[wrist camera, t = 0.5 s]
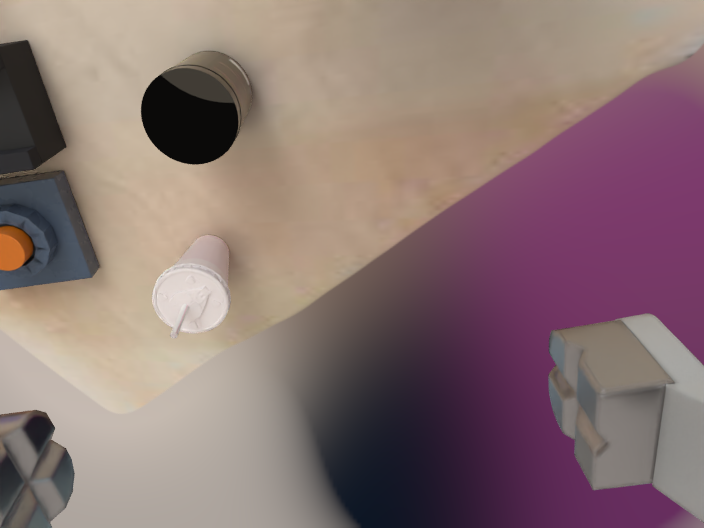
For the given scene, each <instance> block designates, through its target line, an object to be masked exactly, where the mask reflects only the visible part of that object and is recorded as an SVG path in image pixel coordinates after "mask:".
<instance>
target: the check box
mask: <svg viewBox="0 0 704 528" xmlns="http://www.w3.org/2000/svg"><path fill="white" fill-rule="evenodd" d="M2 226H13V227H16V228H19V229H21V230H22V231H24V232H25V233H26V234H27V235H28V236H29V237H30V238H31V240H32V243H33V248H34V249H33V254H32V256H31V257H30V258H29V259H28V260H27V261H26V262H25V263H24V264H23V265H22V266H21V267H20V268H18V269H16V270H12V271H5V270H0V290H5V289H13V288H20V287H27V286H34V285H42V284H49V283H56V282H63V281H70V280H78V279H85V278H92V277H93V275H94V274H95V273H96V271H97V270H98V269H99V264H98V261H97V259H96V256H95V253H94V251H93V248H92V245H91V243H90V240H89V237H88V235H87V232H86V229H85V227H84V224H83V221H82V219H81V216H80V213H79V211H78V208H77V205H76V203H75V200H74V197H73V195H72V192H71V189H70V187H69V184H68V181H67V179H66V176H65V173H64V171H57V172H50V173H43V174H36V175H28V176H21V177H14V178H7V179H0V227H2Z"/></svg>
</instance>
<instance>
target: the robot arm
mask: <svg viewBox="0 0 704 528" xmlns="http://www.w3.org/2000/svg"><path fill="white" fill-rule="evenodd" d="M549 353H550V355H551V356H552V358H553V360H554V362H555V363H556V366H555V367H554V368H553V370H552V371H551V372H550V373H549V394H550V399H551V404H552V409H553V412H554V414H555V417H556V420H557V422H558V424H559V426H560V428H561V430H562V432H563V433H564V434H566V435H567V436H569V437H571V438H572V439H574V440H575V457H576V459H577V461H578V462H579V464H580V466H581V468H582V470H583V472H584V474H585V476H586V477H587V479H588V481H589V483H590V485H591V487H592V489H593V490H597V489H606V488H614V487H623V486H631V485H640V484H648V483H653V487H655V488H656V489H658V490H659V491H660V492H662V493H663V494H665V495H666V496H667V497H669V498H670V499H671V500H673V501H674V502H676V503H677V504H679V505H680V506H681V507H683V508H684V509H686V510H687V511H688V512H690V513H691V514H692V515H694V516H695V517H697V518H698V519H699V520H701V521H702V522H704V365H703V364H702V363H701V362H700V361H699V360H698V359H697V358H696V357H695V356H694V355H693V354H692V353H691V352H690V351H689V350H688V349H687V348H686V347H685V346H684V345H683V344H682V343H681V342H680V341H679V340H678V339H677V338H676V337H675V336H674V335H673V334H672V333H671V332H670V331H669V330H668V329H667V328H666V327H665V325H664V324H662V323H661V321H660V320H659V319H658V318H657V317H656V316H654V315H651V314H642V315H637V316H631V317H625V318H620V319H616V320H615V321H609V322H603V323H597V324H591V325H584V326H578V327H571V328H565V329H559V330H552V332H551V335H550V338H549ZM54 430H55V427H54V425H53V424H52V422H51V420H50V419H49V417H48V415H47V413H45V412H41V411H38V410H33V411H25V412H17V413H9V414H1V415H0V528H52V526H51V524H50V522H51V521H52V520H53V519H54V518H55V517H56V516H57V515H58V514H59V513H61V512H62V511H63V510H64V509H65V508H66V506H67V503H68V501H69V499H70V497H71V494H72V492H73V483H74V469H73V464H72V459H71V457H70V455H69V454H68V452H67V450H66V448H64V447H63V446H61V445H59V444H58V443H56V442H54V441H53V440H51V439H52V436H53V433H54Z"/></svg>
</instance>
